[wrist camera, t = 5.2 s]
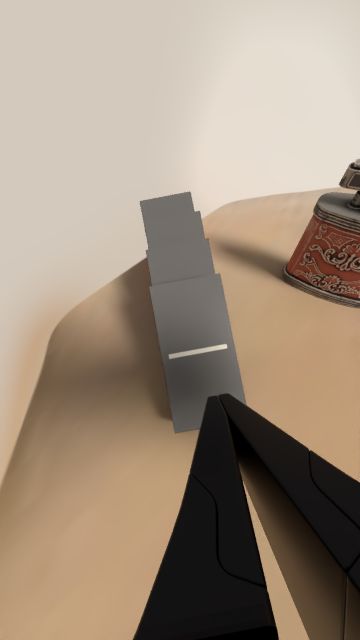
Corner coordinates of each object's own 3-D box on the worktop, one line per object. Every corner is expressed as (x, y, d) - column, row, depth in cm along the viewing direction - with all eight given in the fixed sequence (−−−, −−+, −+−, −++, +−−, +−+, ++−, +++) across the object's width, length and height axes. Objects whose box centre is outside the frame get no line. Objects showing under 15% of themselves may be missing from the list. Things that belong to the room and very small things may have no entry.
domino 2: (220, 323, 16) (199, 210, 17) (162, 333, 16) (143, 220, 17) (216, 323, 18) (198, 221, 18) (164, 332, 18) (147, 230, 18)
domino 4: (249, 419, 12) (220, 273, 13) (174, 433, 12) (149, 286, 13) (241, 409, 14) (215, 279, 15) (175, 421, 14) (152, 291, 15)
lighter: (373, 290, 18) (526, 164, 10) (366, 315, 17) (534, 197, 8) (287, 261, 21) (347, 145, 13) (276, 281, 20) (333, 167, 11)
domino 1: (210, 292, 18) (190, 191, 18) (158, 302, 18) (139, 201, 18) (208, 295, 20) (189, 202, 20) (160, 304, 20) (142, 211, 20)
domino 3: (232, 365, 14) (208, 238, 15) (168, 376, 14) (145, 249, 15) (227, 361, 16) (205, 247, 17) (169, 371, 16) (149, 257, 17)
